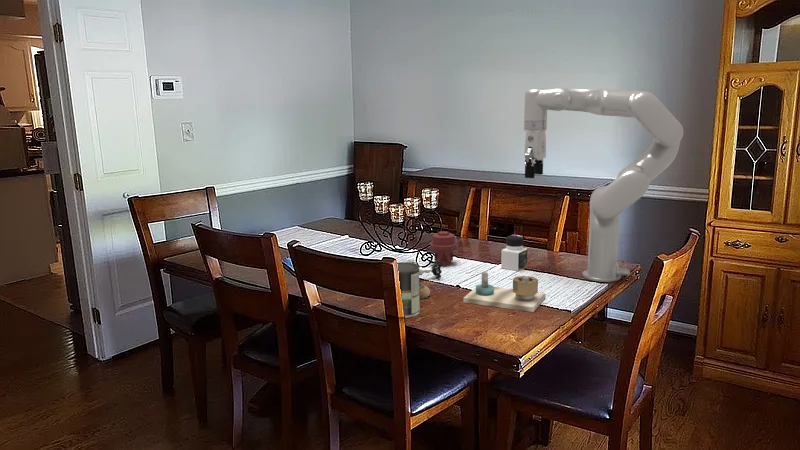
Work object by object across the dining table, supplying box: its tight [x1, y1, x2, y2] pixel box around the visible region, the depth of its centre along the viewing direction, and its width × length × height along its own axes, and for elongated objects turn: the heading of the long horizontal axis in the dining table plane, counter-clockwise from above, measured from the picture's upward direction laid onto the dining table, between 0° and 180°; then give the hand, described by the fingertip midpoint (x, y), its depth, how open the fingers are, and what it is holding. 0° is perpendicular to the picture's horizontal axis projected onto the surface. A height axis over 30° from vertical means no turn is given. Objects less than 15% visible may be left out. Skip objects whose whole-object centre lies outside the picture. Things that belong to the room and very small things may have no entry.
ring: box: [512, 275, 539, 296], centre depth 189 cm, size 7×7×4 cm
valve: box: [407, 260, 443, 279], centre depth 216 cm, size 7×7×12 cm
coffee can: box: [396, 261, 421, 319], centre depth 183 cm, size 10×10×14 cm
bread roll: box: [419, 282, 431, 300], centre depth 200 cm, size 11×11×5 cm
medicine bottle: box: [500, 234, 528, 272], centre depth 227 cm, size 7×7×12 cm
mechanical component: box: [429, 230, 458, 267], centre depth 234 cm, size 12×10×10 cm
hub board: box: [462, 271, 546, 313], centre depth 192 cm, size 22×14×8 cm, turn 63°
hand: (533, 176), depth 213 cm, fingers open, 9 cm apart
